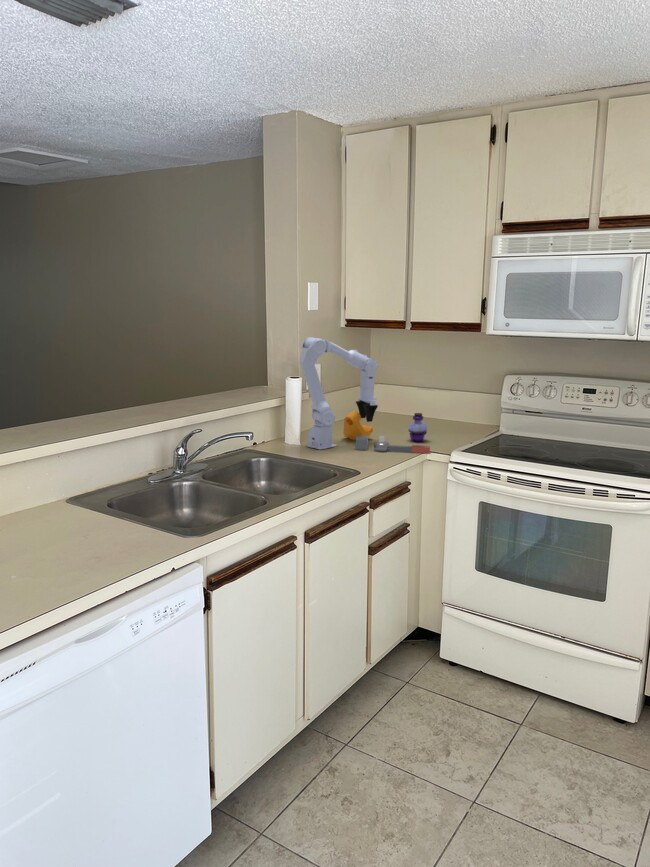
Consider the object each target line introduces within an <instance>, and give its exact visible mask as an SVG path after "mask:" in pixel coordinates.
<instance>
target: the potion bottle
mask: <svg viewBox="0 0 650 867" xmlns="http://www.w3.org/2000/svg"><path fill="white" fill-rule="evenodd" d="M412 420H414V422H412V423H408V424H407V429H408V432H409V438H410V442H412V443H417V444H419V443H423V442H424V440H425V437H426V435H427V432H428V428H429V425H428V424H427V423H423V422H422V421H423V420H424V415H423V413H422V412H415V413H414V415H413V416H412Z"/></svg>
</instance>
